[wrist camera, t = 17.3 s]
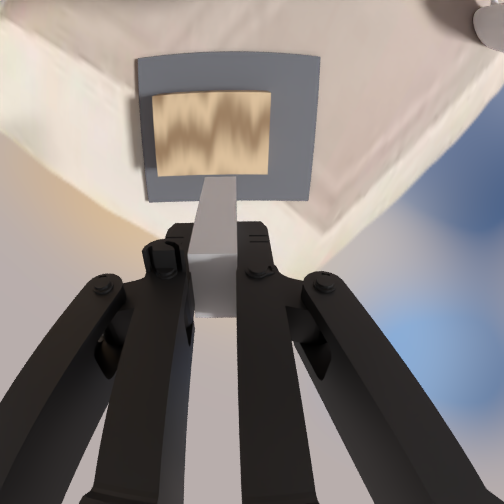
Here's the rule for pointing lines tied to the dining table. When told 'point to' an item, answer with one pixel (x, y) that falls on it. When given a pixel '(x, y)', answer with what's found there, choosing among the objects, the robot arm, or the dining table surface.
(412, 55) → the dining table surface
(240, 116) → the tan block
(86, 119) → the dining table surface
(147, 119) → the slate mat
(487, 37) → the cup
